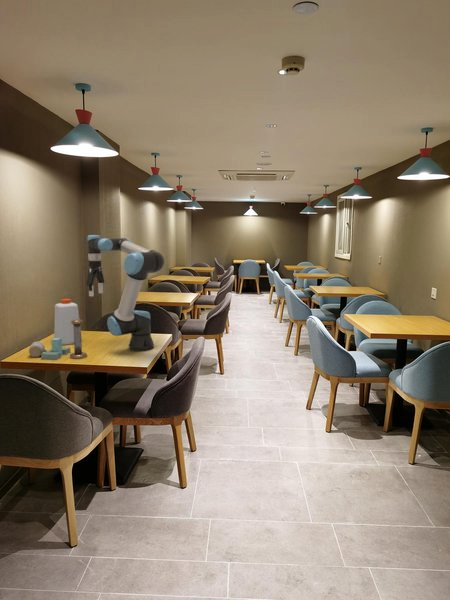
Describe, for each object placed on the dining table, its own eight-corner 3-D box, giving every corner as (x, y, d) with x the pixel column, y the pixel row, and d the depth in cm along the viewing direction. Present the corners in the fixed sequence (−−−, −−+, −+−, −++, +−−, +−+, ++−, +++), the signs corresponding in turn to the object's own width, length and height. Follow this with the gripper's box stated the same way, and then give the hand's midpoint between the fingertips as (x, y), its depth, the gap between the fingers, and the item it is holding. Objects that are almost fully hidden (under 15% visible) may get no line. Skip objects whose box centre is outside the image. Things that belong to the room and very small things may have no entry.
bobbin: (89, 355, 265) (87, 319, 262) (82, 359, 257) (80, 322, 254) (74, 354, 267) (73, 318, 264) (67, 358, 258) (65, 321, 255)
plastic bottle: (59, 346, 286) (57, 301, 282) (52, 341, 298) (50, 299, 294) (83, 342, 295) (81, 299, 291) (76, 338, 307) (73, 297, 303)
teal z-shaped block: (70, 352, 271) (70, 347, 270) (56, 359, 255) (56, 354, 255) (56, 352, 272) (56, 347, 272) (41, 359, 257) (41, 354, 256)
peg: (62, 355, 265) (61, 338, 264) (58, 357, 261) (57, 339, 260) (56, 354, 266) (55, 338, 265) (52, 356, 262) (51, 339, 261)
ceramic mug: (28, 358, 259) (28, 344, 258) (30, 354, 267) (30, 341, 266) (48, 357, 262) (48, 344, 260) (50, 353, 269) (49, 340, 268)
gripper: (97, 259, 295) (99, 292, 298) (79, 261, 271) (81, 297, 274) (108, 259, 294) (110, 292, 297) (91, 261, 270) (93, 297, 273)
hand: (96, 294), depth 286 cm, fingers open, 13 cm apart
